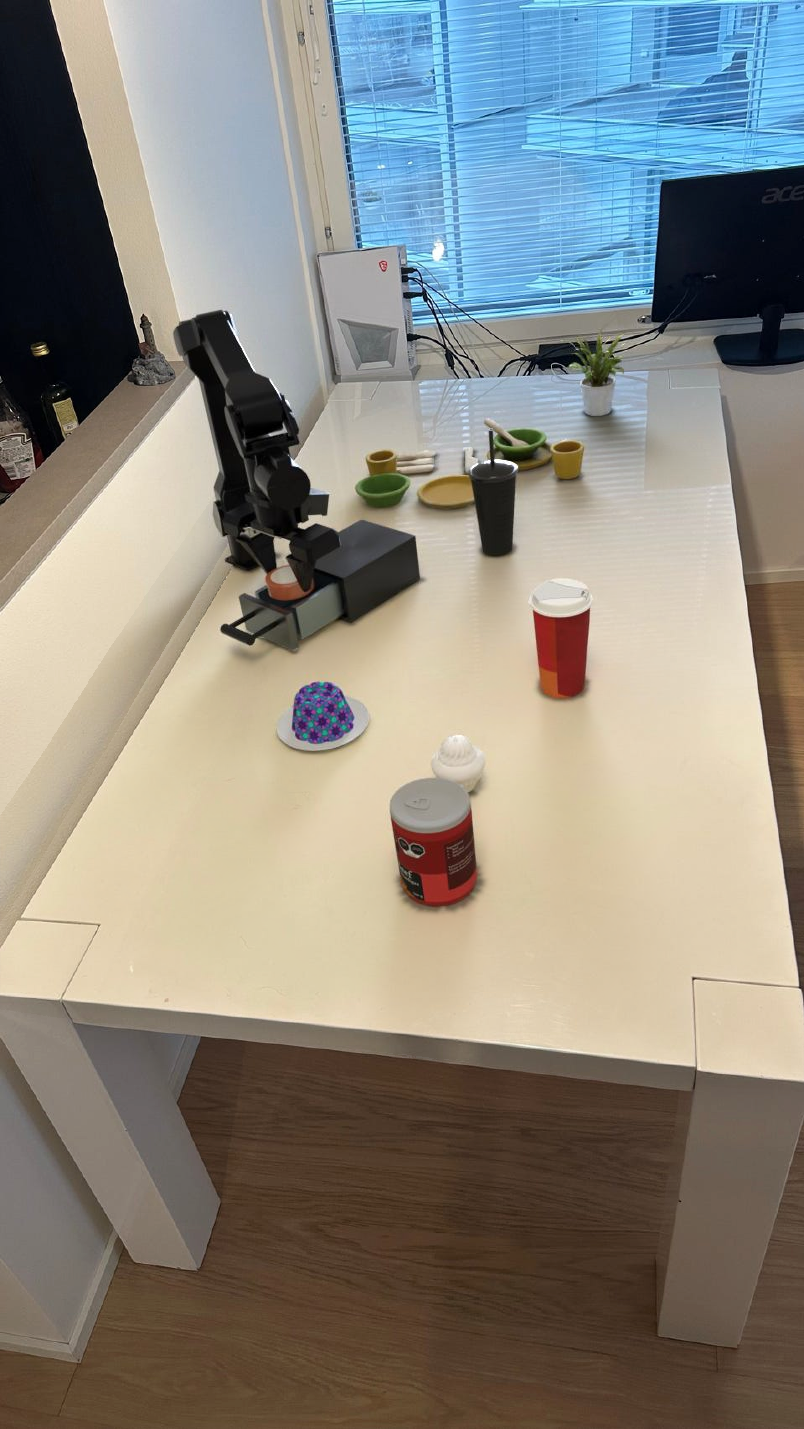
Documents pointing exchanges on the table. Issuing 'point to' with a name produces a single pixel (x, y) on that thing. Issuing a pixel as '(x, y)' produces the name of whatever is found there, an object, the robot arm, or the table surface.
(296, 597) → the round tin
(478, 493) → the drinking cup
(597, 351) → the house plant
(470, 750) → the muffin
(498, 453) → the tableware set
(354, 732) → the pudding
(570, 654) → the paper cup
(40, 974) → the table surface
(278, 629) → the drawer
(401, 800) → the canned food
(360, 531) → the cabinet
